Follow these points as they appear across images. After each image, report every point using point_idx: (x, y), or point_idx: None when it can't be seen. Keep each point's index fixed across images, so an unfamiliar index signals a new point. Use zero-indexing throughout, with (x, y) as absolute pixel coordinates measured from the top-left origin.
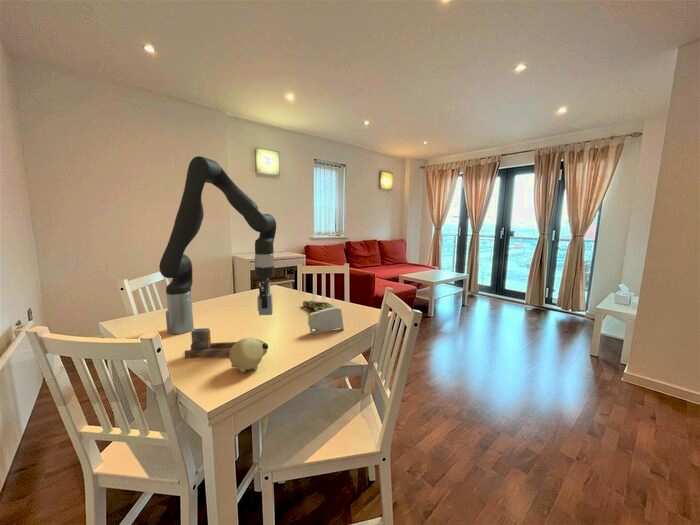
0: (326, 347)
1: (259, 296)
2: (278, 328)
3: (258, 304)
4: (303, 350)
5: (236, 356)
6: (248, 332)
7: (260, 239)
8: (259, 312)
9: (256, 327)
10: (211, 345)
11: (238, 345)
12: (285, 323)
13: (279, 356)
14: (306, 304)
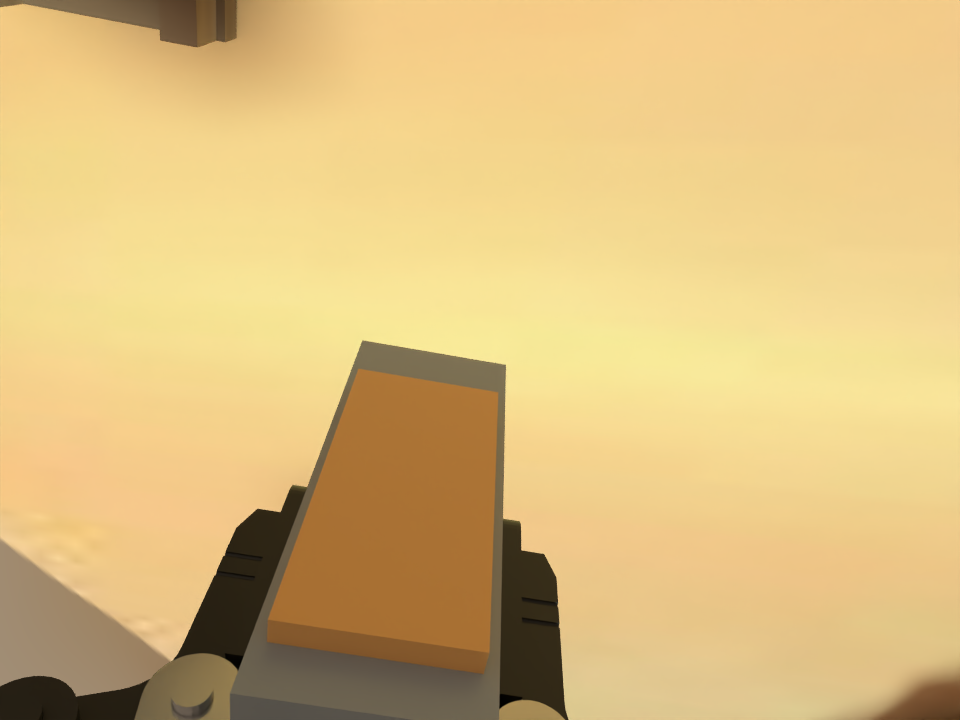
0: (174, 652)
1: (239, 697)
2: (717, 395)
3: (321, 478)
4: (128, 523)
5: None
6: (748, 36)
7: None
8: (351, 379)
9: (890, 150)
10: None
11: None
12: (838, 472)
13: (8, 347)
14: None
